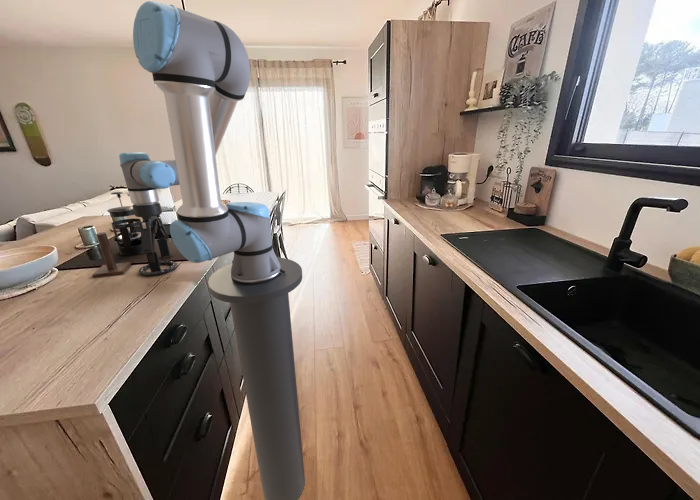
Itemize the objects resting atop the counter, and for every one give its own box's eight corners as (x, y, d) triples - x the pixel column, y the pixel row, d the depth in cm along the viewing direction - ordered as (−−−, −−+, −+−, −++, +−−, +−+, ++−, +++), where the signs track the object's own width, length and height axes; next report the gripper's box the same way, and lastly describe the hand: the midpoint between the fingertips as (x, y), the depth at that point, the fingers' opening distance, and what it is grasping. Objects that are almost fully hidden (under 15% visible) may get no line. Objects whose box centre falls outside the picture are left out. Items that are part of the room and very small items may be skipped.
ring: (179, 261, 102) (178, 258, 102) (172, 273, 93) (171, 270, 92) (145, 265, 99) (144, 262, 98) (135, 278, 90) (134, 275, 89)
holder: (131, 264, 100) (120, 228, 95) (123, 273, 93) (110, 235, 88) (103, 267, 97) (91, 231, 93) (92, 277, 90) (78, 238, 86)
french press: (124, 248, 115) (107, 190, 106) (152, 245, 118) (137, 189, 110) (115, 258, 104) (94, 195, 96) (145, 255, 108) (128, 194, 100)
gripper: (144, 196, 102) (158, 251, 110) (117, 212, 80) (137, 280, 88) (168, 195, 104) (180, 249, 112) (148, 210, 82) (165, 277, 90)
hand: (161, 263), depth 100 cm, fingers open, 13 cm apart
